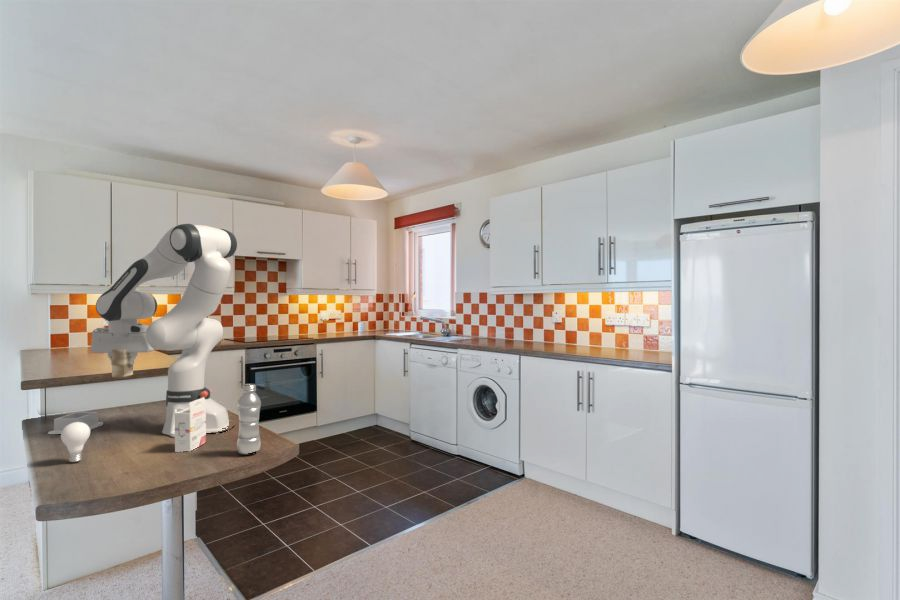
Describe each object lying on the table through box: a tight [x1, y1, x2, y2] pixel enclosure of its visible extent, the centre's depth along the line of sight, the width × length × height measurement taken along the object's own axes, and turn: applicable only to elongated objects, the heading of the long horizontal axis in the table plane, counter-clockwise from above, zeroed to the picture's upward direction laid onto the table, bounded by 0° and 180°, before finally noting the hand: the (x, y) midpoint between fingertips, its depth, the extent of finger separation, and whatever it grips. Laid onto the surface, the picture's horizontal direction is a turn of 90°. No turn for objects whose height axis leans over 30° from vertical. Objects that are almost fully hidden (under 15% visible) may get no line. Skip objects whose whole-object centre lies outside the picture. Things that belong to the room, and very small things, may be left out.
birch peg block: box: [111, 350, 134, 378], centre depth 169 cm, size 4×6×10 cm, turn 8°
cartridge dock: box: [47, 411, 104, 435], centre depth 159 cm, size 10×12×5 cm
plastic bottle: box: [236, 383, 262, 455], centre depth 133 cm, size 6×7×20 cm
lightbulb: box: [60, 422, 91, 464], centre depth 126 cm, size 6×6×11 cm
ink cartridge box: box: [174, 397, 207, 453], centre depth 138 cm, size 9×5×15 cm, turn 179°
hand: (122, 364), depth 169 cm, fingers closed on birch peg block, 4 cm apart
